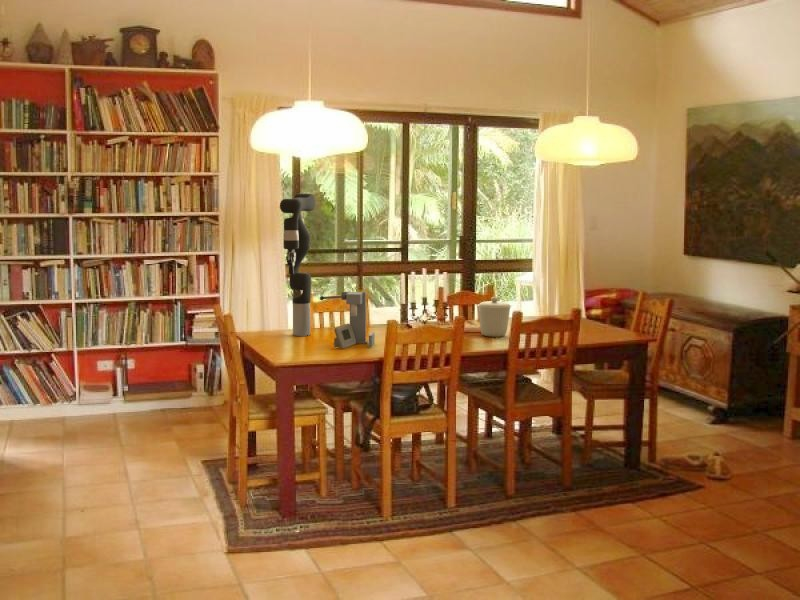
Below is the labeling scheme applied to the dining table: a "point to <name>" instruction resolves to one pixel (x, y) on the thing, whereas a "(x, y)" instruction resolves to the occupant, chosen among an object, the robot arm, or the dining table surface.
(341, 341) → the digital clock
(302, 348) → the dining table surface
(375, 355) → the dining table surface
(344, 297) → the lever
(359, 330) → the press
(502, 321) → the canister
